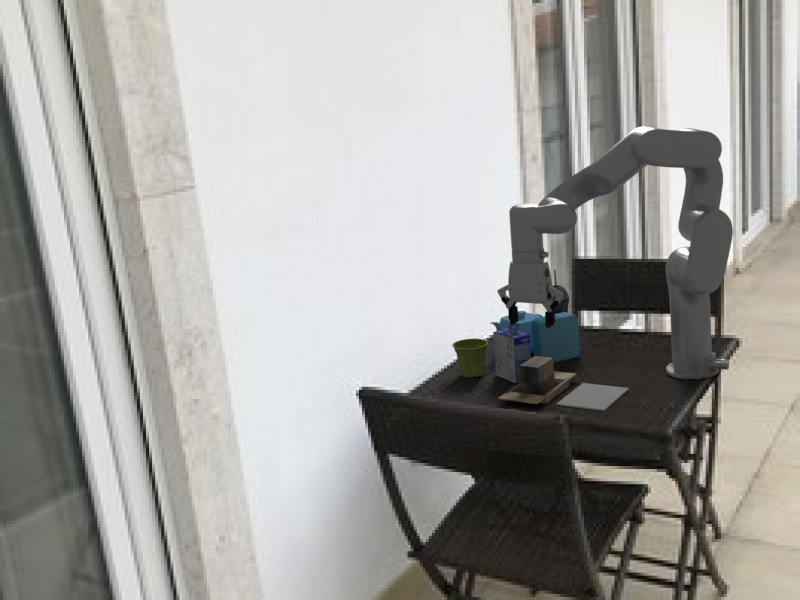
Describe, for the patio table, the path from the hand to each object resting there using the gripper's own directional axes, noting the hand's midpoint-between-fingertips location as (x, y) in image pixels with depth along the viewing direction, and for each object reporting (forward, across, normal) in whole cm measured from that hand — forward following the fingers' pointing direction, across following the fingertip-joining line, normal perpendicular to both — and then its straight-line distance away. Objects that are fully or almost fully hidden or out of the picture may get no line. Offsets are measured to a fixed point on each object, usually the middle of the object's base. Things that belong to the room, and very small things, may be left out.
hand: (531, 324), depth 235 cm
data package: (+18, +6, -25) cm, 32 cm away
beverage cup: (+17, +14, -43) cm, 49 cm away
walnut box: (+18, 0, 0) cm, 18 cm away
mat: (+17, -14, -1) cm, 23 cm away
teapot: (+18, +20, -28) cm, 39 cm away
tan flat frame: (+18, 0, 0) cm, 18 cm away
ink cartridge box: (+18, +10, -8) cm, 22 cm away
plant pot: (+18, +22, -7) cm, 30 cm away
